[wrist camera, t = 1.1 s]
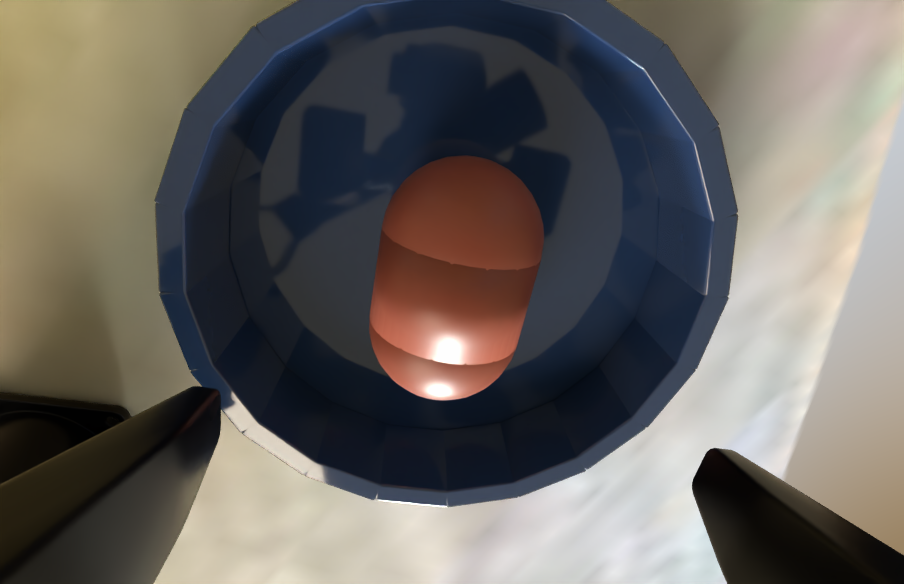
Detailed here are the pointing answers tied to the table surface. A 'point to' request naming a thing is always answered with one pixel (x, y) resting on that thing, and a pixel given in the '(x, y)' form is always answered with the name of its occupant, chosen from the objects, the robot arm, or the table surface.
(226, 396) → the pot
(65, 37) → the table surface
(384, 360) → the potato
